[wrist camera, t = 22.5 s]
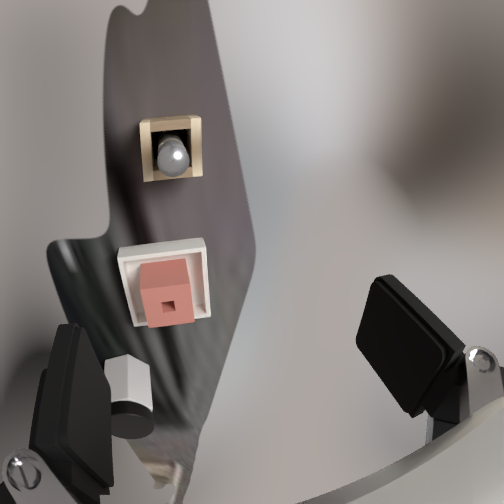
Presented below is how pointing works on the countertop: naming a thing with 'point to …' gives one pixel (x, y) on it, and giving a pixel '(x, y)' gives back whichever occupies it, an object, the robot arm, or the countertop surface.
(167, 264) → the red block small bore
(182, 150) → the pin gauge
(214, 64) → the countertop surface
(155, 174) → the beech block wide bore
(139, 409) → the jar
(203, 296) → the tray
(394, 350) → the robot arm
